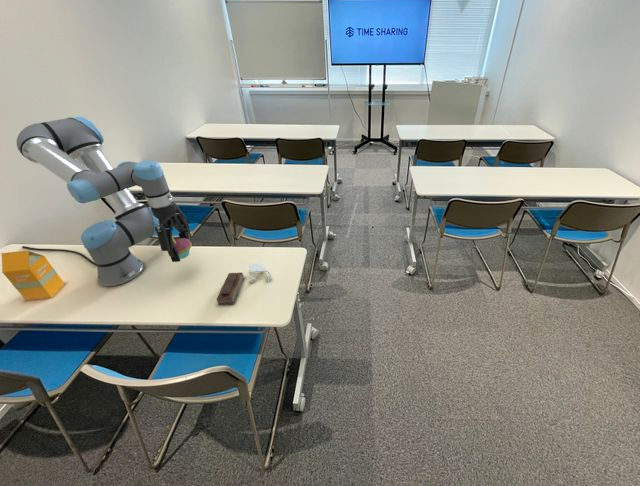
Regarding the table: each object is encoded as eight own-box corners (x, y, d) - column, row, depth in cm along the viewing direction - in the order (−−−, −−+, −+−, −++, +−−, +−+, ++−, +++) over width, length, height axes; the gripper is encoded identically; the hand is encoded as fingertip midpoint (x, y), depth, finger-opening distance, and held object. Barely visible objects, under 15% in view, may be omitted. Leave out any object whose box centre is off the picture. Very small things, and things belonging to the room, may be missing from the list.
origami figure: (242, 283, 119) (239, 273, 116) (251, 269, 126) (249, 260, 123) (269, 286, 117) (267, 277, 114) (278, 272, 124) (276, 263, 121)
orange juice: (51, 297, 113) (19, 257, 103) (25, 300, 112) (-10, 260, 101) (65, 283, 120) (36, 244, 109) (40, 286, 118) (9, 246, 108)
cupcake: (184, 263, 113) (174, 238, 107) (165, 260, 115) (154, 235, 108) (199, 250, 120) (190, 225, 114) (181, 247, 122) (171, 223, 115)
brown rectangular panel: (233, 304, 109) (231, 296, 107) (218, 304, 109) (215, 296, 107) (244, 278, 121) (241, 270, 119) (230, 278, 121) (228, 271, 119)
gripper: (156, 219, 96) (179, 271, 108) (186, 190, 114) (202, 237, 126) (133, 220, 96) (158, 272, 108) (166, 191, 114) (184, 238, 126)
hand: (181, 253), depth 117 cm, fingers closed on cupcake, 9 cm apart
